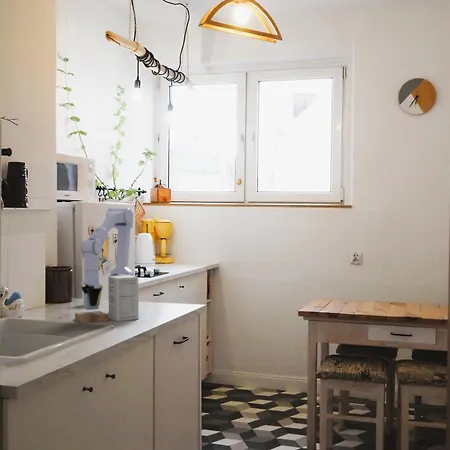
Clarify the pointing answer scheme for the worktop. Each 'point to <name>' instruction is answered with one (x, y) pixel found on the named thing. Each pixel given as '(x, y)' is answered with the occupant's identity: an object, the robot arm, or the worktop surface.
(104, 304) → the worktop surface
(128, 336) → the worktop surface
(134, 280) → the supplement box
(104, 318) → the tan flat square block
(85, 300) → the slate block
